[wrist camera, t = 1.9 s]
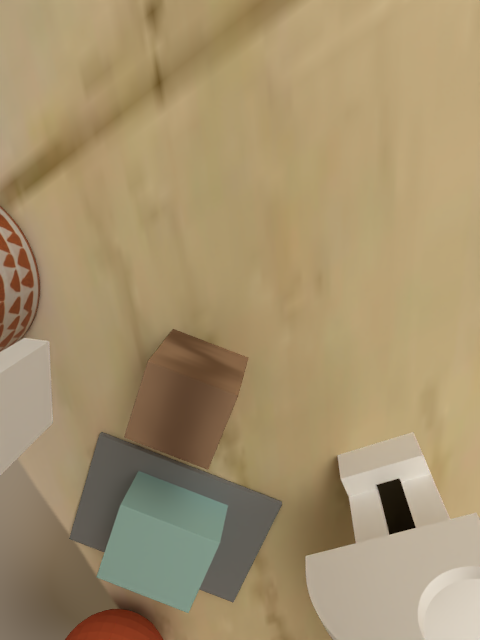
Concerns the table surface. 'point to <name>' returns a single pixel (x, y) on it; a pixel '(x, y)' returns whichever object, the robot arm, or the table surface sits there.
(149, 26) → the table surface
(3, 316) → the planter
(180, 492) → the teal base block
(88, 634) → the tomato
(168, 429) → the walnut block
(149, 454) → the build mat
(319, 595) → the tape dispenser
